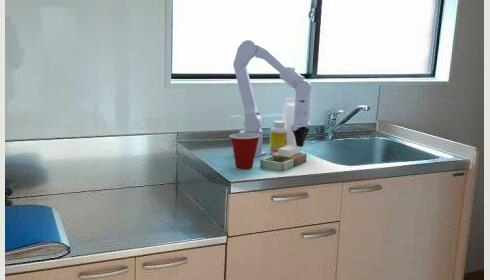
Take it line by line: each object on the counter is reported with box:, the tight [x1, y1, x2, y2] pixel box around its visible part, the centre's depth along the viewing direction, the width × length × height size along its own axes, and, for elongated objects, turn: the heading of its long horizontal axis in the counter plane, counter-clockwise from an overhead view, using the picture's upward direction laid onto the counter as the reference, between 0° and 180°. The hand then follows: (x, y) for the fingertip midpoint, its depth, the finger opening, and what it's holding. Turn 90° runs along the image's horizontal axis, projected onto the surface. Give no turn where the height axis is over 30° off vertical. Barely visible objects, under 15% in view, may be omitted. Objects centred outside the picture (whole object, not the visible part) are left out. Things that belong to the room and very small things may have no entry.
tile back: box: [285, 145, 301, 155], centre depth 202 cm, size 4×4×2 cm
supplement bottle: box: [269, 120, 287, 155], centre depth 214 cm, size 7×7×13 cm
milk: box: [281, 96, 297, 146], centre depth 220 cm, size 6×6×22 cm
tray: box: [259, 154, 295, 172], centre depth 193 cm, size 9×9×3 cm
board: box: [270, 152, 308, 168], centre depth 201 cm, size 10×10×3 cm
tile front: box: [278, 147, 295, 157], centre depth 198 cm, size 4×4×2 cm
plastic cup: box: [229, 132, 260, 171], centre depth 189 cm, size 11×11×12 cm
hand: (299, 146), depth 208 cm, fingers closed
